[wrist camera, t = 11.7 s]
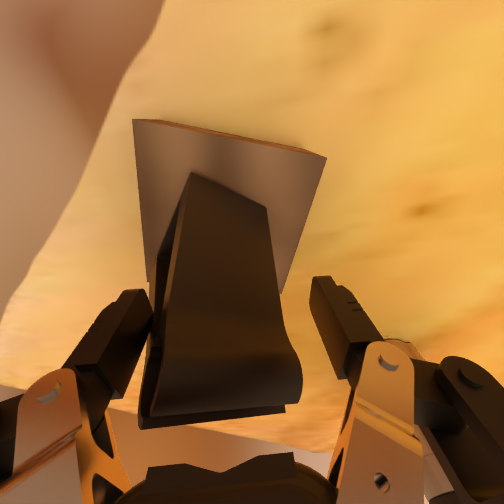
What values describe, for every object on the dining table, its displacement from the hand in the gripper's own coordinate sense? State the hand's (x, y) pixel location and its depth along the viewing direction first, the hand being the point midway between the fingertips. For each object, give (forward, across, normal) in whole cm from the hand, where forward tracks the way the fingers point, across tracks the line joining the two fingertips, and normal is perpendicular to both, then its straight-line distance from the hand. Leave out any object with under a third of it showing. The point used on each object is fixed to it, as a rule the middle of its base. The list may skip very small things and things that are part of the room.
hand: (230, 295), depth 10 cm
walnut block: (+14, +1, 0) cm, 14 cm away
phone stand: (+8, +2, +1) cm, 8 cm away
